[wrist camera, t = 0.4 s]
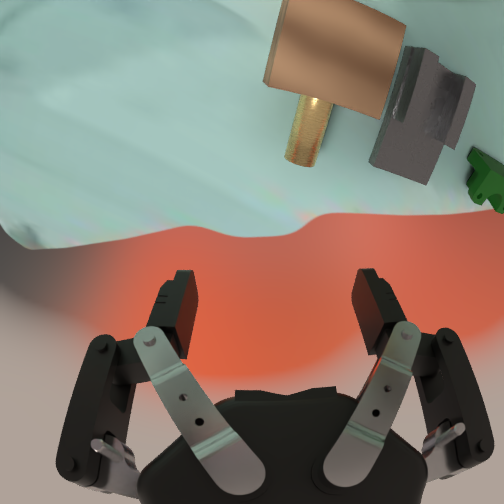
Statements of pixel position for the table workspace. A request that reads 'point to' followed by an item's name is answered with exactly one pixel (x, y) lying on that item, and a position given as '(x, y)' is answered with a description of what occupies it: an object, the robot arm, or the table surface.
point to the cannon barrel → (308, 131)
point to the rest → (421, 116)
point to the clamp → (486, 180)
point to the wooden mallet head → (335, 53)
